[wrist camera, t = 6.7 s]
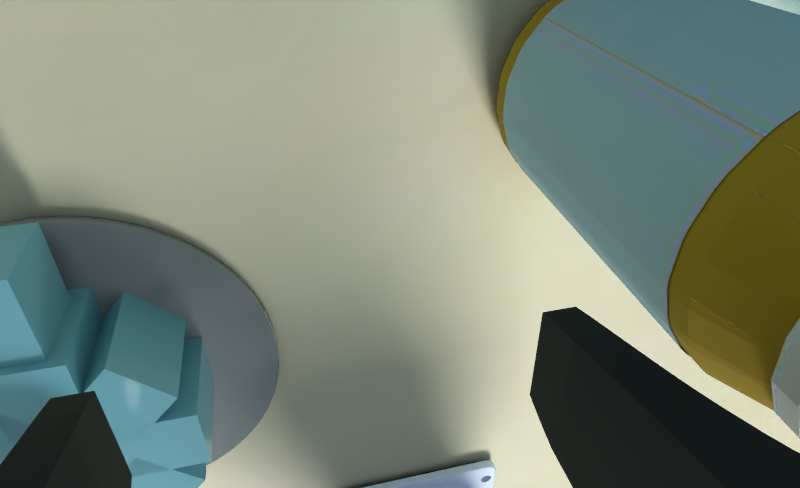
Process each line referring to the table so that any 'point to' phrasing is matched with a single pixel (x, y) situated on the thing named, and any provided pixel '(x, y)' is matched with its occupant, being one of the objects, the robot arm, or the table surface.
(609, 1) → the bottle
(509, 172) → the table surface
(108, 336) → the blue block ring base
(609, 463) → the robot arm
